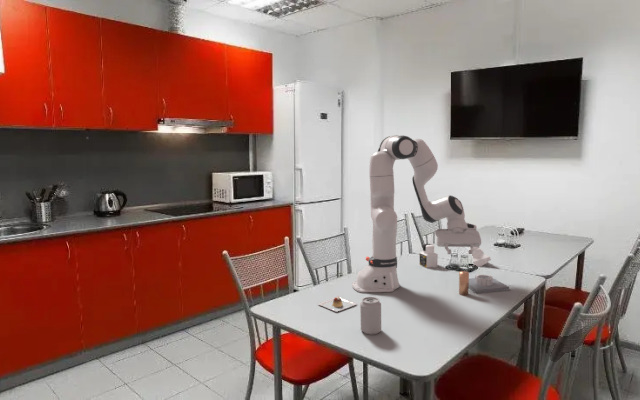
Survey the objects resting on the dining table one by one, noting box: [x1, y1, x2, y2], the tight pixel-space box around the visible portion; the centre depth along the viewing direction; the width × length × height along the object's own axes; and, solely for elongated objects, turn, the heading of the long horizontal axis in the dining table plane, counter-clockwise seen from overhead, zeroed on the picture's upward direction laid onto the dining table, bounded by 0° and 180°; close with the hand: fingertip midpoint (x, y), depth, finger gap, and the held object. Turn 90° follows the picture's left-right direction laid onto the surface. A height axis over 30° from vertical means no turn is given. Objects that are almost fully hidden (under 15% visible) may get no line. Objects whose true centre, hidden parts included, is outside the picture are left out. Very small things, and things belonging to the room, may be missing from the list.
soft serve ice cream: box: [469, 246, 492, 268], centre depth 233 cm, size 12×15×14 cm
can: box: [359, 296, 382, 336], centre depth 152 cm, size 8×8×12 cm
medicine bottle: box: [419, 243, 439, 269], centre depth 231 cm, size 7×7×12 cm
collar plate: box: [469, 274, 510, 294], centre depth 196 cm, size 16×15×4 cm
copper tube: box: [458, 270, 470, 297], centre depth 186 cm, size 4×4×10 cm
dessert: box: [318, 295, 358, 313], centre depth 178 cm, size 12×12×5 cm
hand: (459, 253), depth 197 cm, fingers open, 8 cm apart
